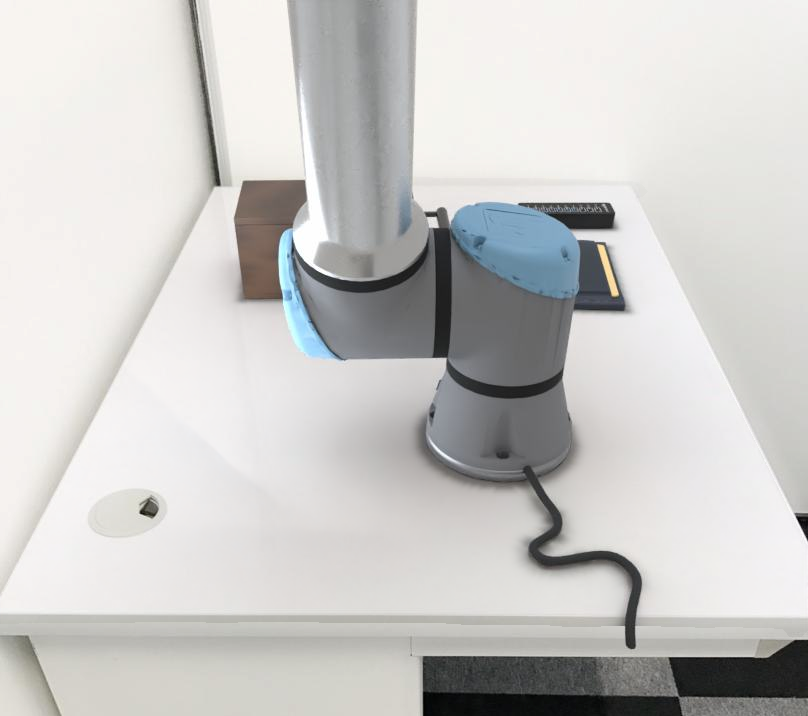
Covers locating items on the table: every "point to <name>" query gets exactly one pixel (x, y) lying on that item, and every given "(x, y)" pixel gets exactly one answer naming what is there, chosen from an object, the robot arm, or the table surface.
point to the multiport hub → (577, 213)
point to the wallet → (597, 279)
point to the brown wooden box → (265, 231)
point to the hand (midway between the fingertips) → (369, 159)
